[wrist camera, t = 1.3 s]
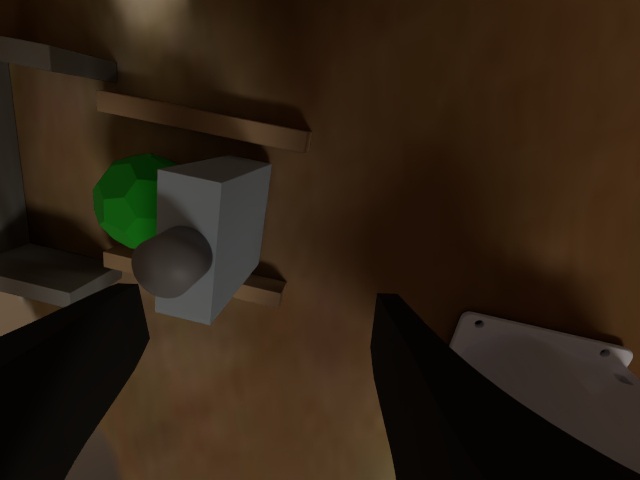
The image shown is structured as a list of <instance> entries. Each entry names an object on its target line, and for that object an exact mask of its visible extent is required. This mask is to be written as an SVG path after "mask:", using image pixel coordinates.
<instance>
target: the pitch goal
mask: <svg viewBox="0 0 640 480" xmlns="http://www.w3.org/2000/svg"><path fill="white" fill-rule="evenodd" d="M8 63H12V64H17V65H22V66H27V67H32V68H37V69H42V70H47V71H52V72H58V73H64V74H69V75H75V76H80V77H86V78H92V79H97V80H103V81H109V82H114V83H117V63H116V62H112V61H108V60H104V59H100V58H96V57H93V56H89V55H85V54H81V53H77V52H73V51H69V50H66V49H62V48H58V47H54V46H50V45H45V44H40V43H35V42H30V41H25V40H19V39H14V38H9V37H4V36H0V291H1V292H5V293H9V294H13V295H17V296H21V297H25V298H29V299H33V300H37V301H41V302H45V303H49V304H53V305H57V306H61V307H66V306H68V305H70V304H72V303H74V302H76V301H78V300H80V299H83V298H85V297H87V296H89V295H91V294H93V293H96V292H98V291H100V290H102V289H105V288H106V287H108V286H109V285H111V284H113V283H114V282H116V281H118V280H119V279H121V271H123V272H128V273H132V274H134V273H133V270H132V265H131V259H132V255H133V252H134V250H135V249H133V248H129V247H127V246H126V245H124V244H119V245H117V246H115V247H112V248H110V249H108V250H106V251H104V252H103V259H104V260H99V259H95V258H91V257H87V256H82V255H78V254H74V253H70V252H66V251H61V250H57V249H53V248H49V247H44V246H40V245H36V244H32V243H30V237H29V229H28V220H27V212H26V204H25V196H24V188H23V180H22V172H21V164H20V156H19V148H18V140H17V131H16V123H15V115H14V107H13V99H12V91H11V83H10V75H9V67H8ZM96 97H97V111H100V112H105V113H110V114H115V115H120V116H125V117H130V118H135V119H139V120H144V121H149V122H154V123H159V124H164V125H169V126H174V127H178V128H183V129H188V130H193V131H198V132H203V133H208V134H212V135H217V136H222V137H227V138H232V139H237V140H242V141H247V142H251V143H256V144H261V145H266V146H271V147H276V148H281V149H286V150H290V151H295V152H300V153H306V152H308V151H309V148H310V142H311V136H312V132H310V131H305V130H300V129H295V128H290V127H285V126H280V125H275V124H270V123H265V122H260V121H255V120H250V119H245V118H240V117H235V116H230V115H225V114H220V113H215V112H210V111H205V110H200V109H195V108H190V107H185V106H180V105H175V104H170V103H165V102H160V101H155V100H150V99H145V98H140V97H135V96H130V95H125V94H120V93H114V92H107V91H100V90H96ZM286 284H287V282H284V281H279V280H275V279H271V278H266V277H262V276H258V275H253V274H250V275H249V277H248V278H247V279H246V280H245V282H244V283H243V284H242V285H241V287H240V288H239V289H238V291H237V292H236V293H235V294H234V296H233V298H237V299H241V300H245V301H249V302H254V303H258V304H262V305H266V306H270V307H275V308H279V306H280V304H281V302H282V300H283V298H284V296H285V290H286Z"/></svg>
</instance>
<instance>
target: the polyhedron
mask: <svg viewBox="0 0 640 480" xmlns="http://www.w3.org/2000/svg"><path fill="white" fill-rule="evenodd" d="M172 166H177V164H175V163H174V162H172V161H170V160H168V159H165V158H163V157H160V156H157V155H155V154H152V153H150V154H142V155H134V156H130V157H127V158H124V159H120V160H117V161H114V162H113V163H112V165H111V166H110V167H109V168H108V170H107V171H106V172H105V174H104V175H103V176H102V178H101V179H100V180H99V182H98V183H97V185H96V186H95V187H94V189H93V201H94V211H95V214H96V217H97V219H98V222H99V225H100V226H101V227H102V228H103V229H104V230H105V231H106V232H107V233H108V234H109V235H110V236H111V237H112V238H113V239H115V240H116V241H118V242H120V243H122V244H124V245H126V246H127V247H129V248H133V249H135V248H136V247H137V246H138V245H139V244H140V243H142V242H144V241H146V240H148V239H150V238H152V237H154V236H155V235H157V180H158V169H162V168H167V167H172Z"/></svg>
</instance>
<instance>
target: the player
mask: <svg viewBox="0 0 640 480" xmlns="http://www.w3.org/2000/svg"><path fill="white" fill-rule="evenodd" d="M271 168H272V164H270V163H265V162H261V161H256V160H251V159H246V158H242V157H237V156H232V155H227V156H222V157H217V158H212V159H207V160H202V161H197V162H192V163H187V164H182V165H177V166H172V167H167V168H162V169H158V180H157V235H155V236H154V237H152V238H150V239H148V240H146V241H144V242H142V243H140V244H139V245H138V246H137V247H136V248H135V250H134V252H133V255H132V259H131V265H132V270H133V273H134V276H135V278H136V279H137V281H138V282H139V284H140V285H141V286H142V287H143V288H144V289H145V290H146V291H148V292H149V293H151V294H153V295H155V296H156V300H155V312H158V313H162V314H166V315H170V316H174V317H178V318H182V319H187V320H191V321H195V322H199V323H203V324H207V325H210V324H211V323H212V322H213V321H214V319H215V318H216V317H217V316H218V314H219V313H220V312H221V311H222V309H223V308H224V307H225V306H226V304H227V303H228V302H229V301H230V299H231V298H232V297H233V296H234V294H235V293H236V292H237V291H238V289H239V288H240V287H241V285H242V284H243V283H244V282H245V280H246V279H247V278H248V277H249V275H250V274H251V273H252V272H253V270H254V269H255V268H256V267H257V265H258V264H259V258H260V251H261V243H262V236H263V228H264V221H265V213H266V206H267V198H268V191H269V183H270V176H271Z"/></svg>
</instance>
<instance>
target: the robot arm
mask: <svg viewBox="0 0 640 480" xmlns="http://www.w3.org/2000/svg"><path fill="white" fill-rule="evenodd" d="M478 320H482V322H481V323H480V324H475V322H476V321H478ZM149 339H150V337H149V332H148V327H147V323H146V318H145V314H144V309H143V304H142V300H141V295H140V290H139V286H138V284H121V283H118V284H115V285H112V286H109V287H107V288H105V289H102V290H100V291H98V292H96V293H93V294H91V295H89V296H87V297H85V298H83V299H80V300H78V301H76V302H74V303H72V304H70V305H68V306H66V307H64V308H62V309H59V310H57V311H55V312H53V313H51V314H49V315H47V316H45V317H43V318H41V319H38V320H36V321H34V322H32V323H30V324H27V325H25V326H23V327H21V328H18V329H16V330H14V331H12V332H9V333H7V334H5V335H3V336H0V480H64V479H65V477H66V475H67V474H68V472H69V470H70V468H71V467H72V465H73V463H74V461H75V460H76V458H77V456H78V455H79V453H80V451H81V450H82V448H83V447H84V445H85V443H86V442H87V440H88V439H89V437H90V436H91V434H92V433H93V431H94V430H95V428H96V427H97V425H98V424H99V423H100V421H101V420H102V418H103V417H104V415H105V414H106V412H107V411H108V409H109V408H110V406H111V405H112V403H113V402H114V400H115V399H116V397H117V396H118V394H119V393H120V391H121V390H122V388H123V387H124V385H125V384H126V382H127V381H128V379H129V378H130V376H131V374H132V373H133V371H134V370H135V368H136V366H137V364H138V362H139V360H140V358H141V356H142V354H143V352H144V350H145V348H146V346H147V343H148V341H149ZM370 347H371V357H372V366H373V375H374V381H375V385H376V389H377V394H378V398H379V403H380V407H381V411H382V415H383V420H384V424H385V428H386V432H387V437H388V441H389V445H390V449H391V454H392V459H393V464H394V469H395V475H396V480H640V380H639V379H638V378H637V377H636V376H635V375H634V374H633V373H632V372H631V371H630V370H629V369H627V366H628V365H629V363H630V362H631V360H632V358H633V353H632V352H631V351H630V350H629V349H627V348H626V347H624V346H619V345H615V344H611V343H606V342H602V341H598V340H593V339H589V338H585V337H580V336H576V335H572V334H567V333H563V332H558V331H554V330H550V329H545V328H541V327H537V326H532V325H528V324H524V323H519V322H515V321H511V320H506V319H502V318H498V317H493V316H489V315H484V314H480V313H476V312H470V311H468V312H465V313H463V314H462V315H461V317H460V319H459V322H458V324H457V327H456V330H455V332H454V335H453V337H452V340H451V343H450V345H449V346H448V345H447V344H446V343H445V342H444V341H443V340H442V339H441V338H440V337H439V336H438V335H437V334H436V333H434V332H433V331H432V330H431V329H430V328H429V327H428V326H427V325H426V323H425V322H424V321H423V320H422V319H421V318H420V317H419V316H418V315H417V314H416V313H415V312H414V311H413V310H412V309H411V308H410V307H409V306H408V305H407V303H406V302H405V301H404V300H403V299H402V298H401V297H400V296H399V295H398V294H385V293H377V299H376V307H375V314H374V322H373V330H372V338H371V346H370ZM604 349H605V351H604V352H601V351H602V350H604ZM600 352H601V353H600Z"/></svg>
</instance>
